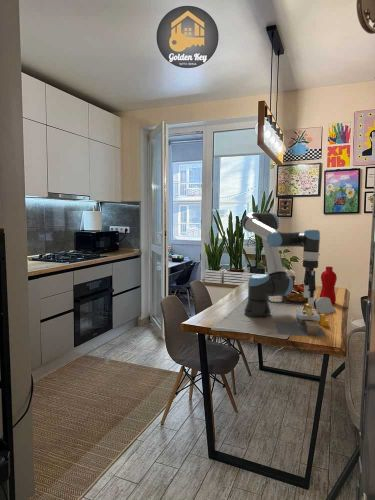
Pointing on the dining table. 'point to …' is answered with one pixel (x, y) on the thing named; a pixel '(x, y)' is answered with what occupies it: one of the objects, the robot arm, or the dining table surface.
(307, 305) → the brass pin
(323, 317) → the pipe clamp
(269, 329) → the dining table surface
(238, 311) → the dining table surface
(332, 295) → the water bottle
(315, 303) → the grey rounded block
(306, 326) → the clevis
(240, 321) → the dining table surface
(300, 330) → the mat
